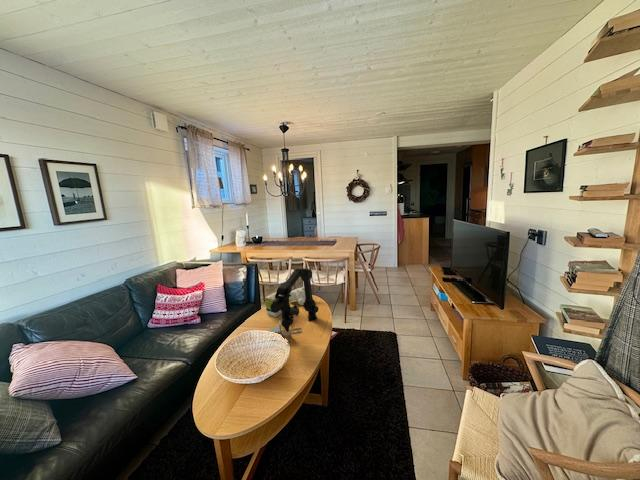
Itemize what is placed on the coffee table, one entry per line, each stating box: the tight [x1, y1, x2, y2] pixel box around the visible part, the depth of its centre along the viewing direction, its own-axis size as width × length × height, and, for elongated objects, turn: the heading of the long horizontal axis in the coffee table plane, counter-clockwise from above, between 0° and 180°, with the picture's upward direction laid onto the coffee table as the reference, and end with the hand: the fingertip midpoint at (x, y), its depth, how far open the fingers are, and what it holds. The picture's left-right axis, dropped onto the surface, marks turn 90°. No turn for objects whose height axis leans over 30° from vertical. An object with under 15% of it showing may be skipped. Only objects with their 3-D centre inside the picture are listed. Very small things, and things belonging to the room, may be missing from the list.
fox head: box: [289, 286, 306, 306], centre depth 215 cm, size 13×17×20 cm
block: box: [283, 330, 293, 343], centre depth 164 cm, size 4×4×5 cm
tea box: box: [264, 290, 283, 318], centre depth 201 cm, size 15×10×15 cm
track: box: [281, 327, 303, 336], centre depth 173 cm, size 8×21×1 cm, turn 100°
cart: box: [268, 320, 282, 334], centre depth 171 cm, size 6×8×7 cm
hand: (287, 327), depth 163 cm, fingers open, 9 cm apart
